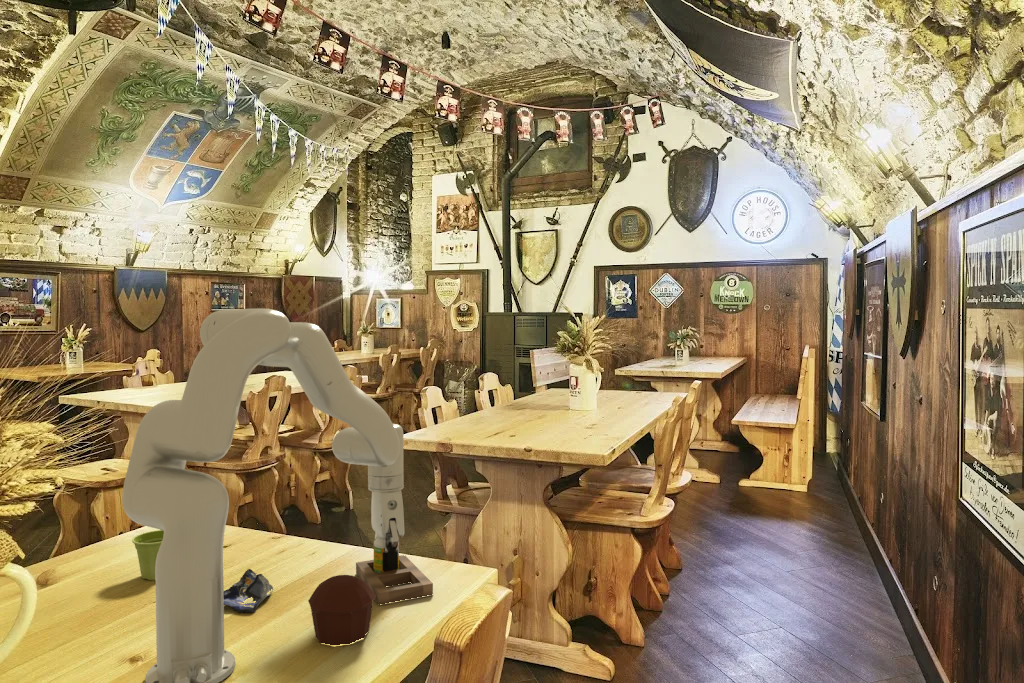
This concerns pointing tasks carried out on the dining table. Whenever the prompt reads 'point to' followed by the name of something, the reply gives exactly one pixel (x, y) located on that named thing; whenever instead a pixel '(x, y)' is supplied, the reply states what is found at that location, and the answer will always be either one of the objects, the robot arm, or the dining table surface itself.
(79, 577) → the dining table surface
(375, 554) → the supplement bottle
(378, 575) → the bottle rack
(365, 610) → the muffin
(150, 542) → the plant pot
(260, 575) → the snack package
